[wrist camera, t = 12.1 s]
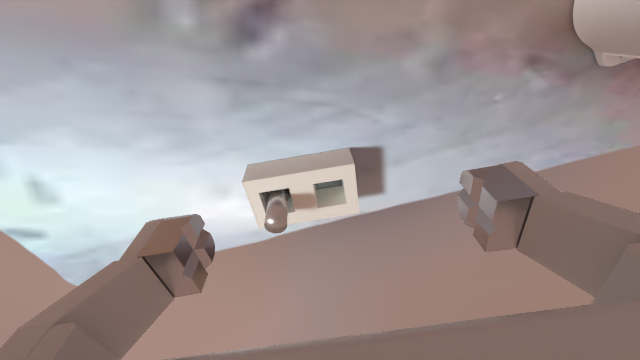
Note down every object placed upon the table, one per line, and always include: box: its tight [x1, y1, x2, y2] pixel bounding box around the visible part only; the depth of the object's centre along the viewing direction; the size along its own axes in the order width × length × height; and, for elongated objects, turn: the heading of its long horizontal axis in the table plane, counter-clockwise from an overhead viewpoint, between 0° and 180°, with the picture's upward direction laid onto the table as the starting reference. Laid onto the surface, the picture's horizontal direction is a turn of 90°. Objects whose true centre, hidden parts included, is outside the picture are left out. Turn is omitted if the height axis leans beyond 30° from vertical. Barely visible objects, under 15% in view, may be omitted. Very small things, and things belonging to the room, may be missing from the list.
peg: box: [264, 188, 289, 233], centre depth 41 cm, size 3×3×10 cm
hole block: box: [242, 148, 359, 229], centre depth 43 cm, size 16×9×5 cm, turn 99°
